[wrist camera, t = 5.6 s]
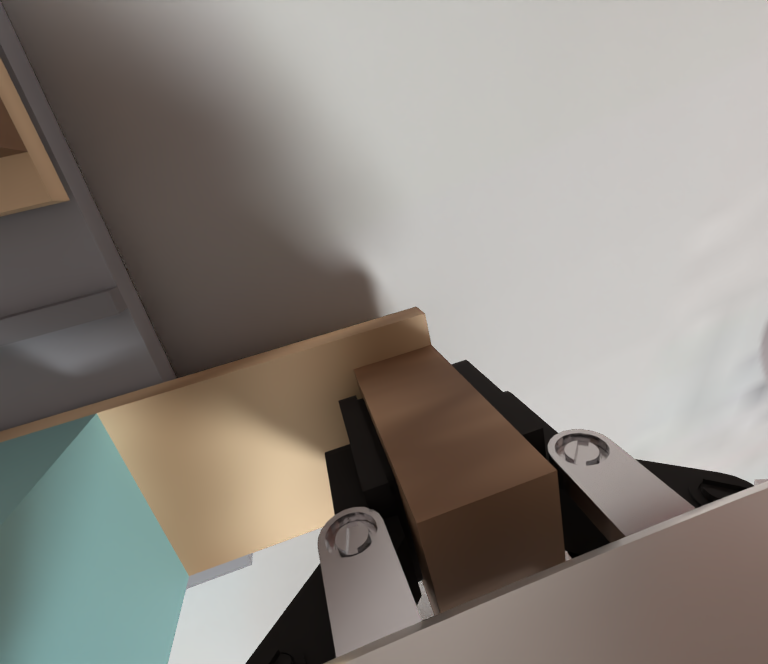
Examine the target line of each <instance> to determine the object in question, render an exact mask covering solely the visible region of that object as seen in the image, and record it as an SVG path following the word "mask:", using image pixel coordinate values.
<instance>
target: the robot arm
mask: <svg viewBox="0 0 768 664" xmlns="http://www.w3.org/2000/svg"><path fill="white" fill-rule="evenodd" d="M451 365H452V366H453V367H454V368H455V369H456V370H457V371H458V372H459V373H460V374H461V375H462V376H463V377H464V378H465V379H466V380H467V381H468V382H469V383H470V384H471V385H472V386H473V387H474V388H475V389H476V390H477V391H478V392H479V393H480V394H481V395H482V396H483V397H484V398H485V399H486V400H487V401H488V402H489V403H490V404H491V405H492V406H493V407H494V408H495V409H496V410H497V411H498V412H499V413H500V414H501V415H502V416H503V417H504V418H505V419H506V420H507V421H508V422H509V423H510V424H511V425H512V426H513V427H514V428H515V429H516V430H517V431H518V432H519V433H520V434H521V435H522V436H523V437H524V438H525V439H526V440H527V441H528V442H529V443H530V444H531V445H532V446H533V447H534V448H535V449H536V450H537V451H538V452H539V453H540V454H541V455H542V456H543V457H544V458H545V459H546V460H547V461H548V462H549V463H550V464H551V465H552V466H553V467H554V468H555V469H556V470H557V474H558V485H559V495H560V506H561V516H562V527H563V537H564V548H565V558H566V561H565V562H563V563H561V564H558V565H556V566H553V567H551V568H548V569H546V570H544V571H541V572H539V573H536V574H534V575H531V576H529V577H527V578H524V579H522V580H519V581H517V582H514V583H512V584H510V585H507V586H505V587H502V588H500V589H497V590H495V591H493V592H490V593H488V594H485V595H483V596H481V597H478V598H476V599H473V600H471V601H469V602H466V603H464V604H462V605H459V606H457V607H454V608H452V609H450V610H447V611H445V612H442V613H440V614H438V615H435V616H433V617H430V618H428V619H426V620H423V621H422V619H421V616H420V613H419V611H418V608H417V604H418V602H419V600H420V598H421V596H422V595H421V592H420V588H419V584H418V582H419V581H421V580H423V576H422V572H421V568H420V565H419V561H418V557H417V554H416V550H415V547H414V543H413V539H412V536H411V532H410V528H409V525H408V521H407V518H406V514H405V510H404V507H403V503H402V499H401V496H400V492H399V489H398V486H397V482H396V479H395V477H394V474H393V471H392V469H391V466H390V464H389V461H388V459H387V456H386V454H385V451H384V449H383V446H382V444H381V441H380V439H379V436H378V434H377V431H376V429H375V426H374V424H373V421H372V419H371V416H370V414H369V411H368V409H367V406H366V404H365V401H364V399H363V398H361V399H357V397H356V395H355V396H351V397H348V398H345V399H342V400H339V401H338V402H339V406H340V409H341V413H342V417H343V420H344V424H345V427H346V431H347V435H348V438H349V442H350V444H348V445H345V446H342V447H339V448H336V449H333V450H330V451H327V452H325V460H326V466H327V472H328V478H329V484H330V490H331V496H332V502H333V508H334V514H335V515H334V516H333V517H332V518H331V519H330V520H328V521H327V523H326V524H325V525H324V527H323V528H322V529H321V532H320V534H319V537H318V552H319V558H320V564H319V565H318V567H317V568H316V569H315V571H314V572H313V574H312V575H311V576H310V578H309V579H308V580H307V582H306V583H305V584H304V586H303V587H302V588H301V590H300V591H299V592H298V594H297V595H296V596H295V598H294V599H293V600H292V602H291V603H290V604H289V606H288V607H287V609H286V610H285V611H284V613H283V614H282V615H281V617H280V618H279V619H278V621H277V622H276V623H275V625H274V626H273V627H272V629H271V630H270V631H269V633H268V634H267V635H266V637H265V638H264V639H263V641H262V642H261V644H260V645H259V646H258V648H257V649H256V650H255V652H254V653H253V654H252V656H251V657H250V658H249V660H248V661H247V662H246V664H768V479H759V480H755V481H754V485H752V484H751V483H749V482H747V481H745V480H743V479H740V478H738V477H735V476H732V475H728V474H723V473H719V472H713V471H706V470H700V469H694V468H687V467H681V466H675V465H669V464H662V463H656V462H650V461H643V460H637V459H634V458H633V457H632V456H630V455H629V454H628V453H627V452H625V451H624V450H623V449H622V448H620V447H619V446H618V445H617V444H616V443H614V442H613V441H612V440H611V439H609V438H607V437H606V436H604V435H603V434H600V433H597V432H594V431H590V430H584V429H571V430H567V431H562V432H560V433H557V432H556V431H555V430H554V429H553V428H552V427H550V426H549V425H548V424H547V423H546V422H545V421H543V420H542V419H541V418H540V417H539V416H538V415H536V414H535V413H534V412H533V411H532V410H531V409H529V408H528V407H527V406H526V405H525V404H524V403H522V402H521V401H520V400H519V399H518V398H517V397H515V396H514V395H513V394H512V393H510V392H509V391H505V392H502V391H501V390H500V389H499V388H498V387H497V386H496V385H494V384H493V383H492V382H491V381H490V380H489V379H488V378H487V377H485V376H484V375H483V374H482V373H481V372H480V371H479V370H478V369H476V368H475V367H474V366H473V365H472V364H471V363H470V362H468V361H467V360H464V361H461V362H458V363H455V364H451Z"/></svg>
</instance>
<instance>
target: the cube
mask: <svg viewBox="0 0 768 664" xmlns="http://www.w3.org/2000/svg"><path fill="white" fill-rule="evenodd" d="M188 578H189V575H188V574H187V572H186V570H185V568H184V566H183V565H182V563H181V561H180V559H179V558H178V556H177V554H176V552H175V551H174V549H173V547H172V545H171V544H170V542H169V540H168V538H167V536H166V535H165V533H164V531H163V529H162V528H161V526H160V524H159V522H158V521H157V519H156V517H155V515H154V514H153V512H152V510H151V508H150V506H149V505H148V503H147V501H146V499H145V498H144V496H143V494H142V492H141V491H140V489H139V487H138V485H137V484H136V482H135V480H134V478H133V476H132V475H131V473H130V471H129V469H128V468H127V466H126V464H125V462H124V461H123V459H122V457H121V455H120V454H119V452H118V450H117V448H116V446H115V445H114V443H113V441H112V439H111V438H110V436H109V434H108V432H107V431H106V429H105V427H104V425H103V424H102V422H101V420H100V418H99V416H98V415H97V413H96V414H92V415H89V416H86V417H82V418H79V419H76V420H73V421H69V422H66V423H63V424H59V425H56V426H53V427H50V428H46V429H43V430H40V431H36V432H33V433H30V434H26V435H23V436H20V437H17V438H13V439H10V440H7V441H3V442H0V664H168V660H169V656H170V652H171V648H172V644H173V640H174V636H175V631H176V627H177V623H178V619H179V615H180V611H181V607H182V603H183V599H184V595H185V591H186V587H187V583H188Z"/></svg>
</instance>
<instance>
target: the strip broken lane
mask: <svg viewBox="0 0 768 664" xmlns="http://www.w3.org/2000/svg"><path fill="white" fill-rule="evenodd" d="M65 201H70V199H69V197H68V195H67V193H66V191H65V189H64V187H63V185H62V183H61V181H60V179H59V177H58V175H57V173H56V171H55V168H54V166H53V164H52V162H51V160H50V158H49V156H48V154H47V152H46V150H45V148H44V146H43V144H42V142H41V140H40V138H39V136H38V134H37V131H36V129H35V127H34V125H33V123H32V121H31V119H30V117H29V115H28V113H27V111H26V109H25V107H24V105H23V103H22V101H21V99H20V97H19V95H18V92H17V90H16V88H15V86H14V84H13V82H12V80H11V78H10V76H9V74H8V72H7V70H6V68H5V66H4V64H3V62H2V60H1V58H0V217H1V216H5V215H10V214H14V213H18V212H22V211H27V210H31V209H35V208H40V207H44V206H48V205H53V204H57V203H61V202H65Z"/></svg>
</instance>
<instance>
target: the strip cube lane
mask: <svg viewBox="0 0 768 664" xmlns="http://www.w3.org/2000/svg"><path fill="white" fill-rule="evenodd" d="M355 395H356V397H357V399H361V398H363V399H364V401H365V404H366V406H367V409H368V411H369V414H370V416H371V419H372V421H373V424H374V426H375V429H376V431H377V434H378V436H379V439H380V441H381V444H382V446H383V449H384V451H385V454H386V456H387V459H388V461H389V464H390V466H391V469H392V471H393V474H394V477H395V479H396V482H397V486H398V489H399V492H400V496H401V499H402V503H403V507H404V510H405V514H406V518H407V521H408V525H409V528H410V532H411V536H412V539H413V543H414V547H415V550H416V554H417V557H418V561H419V565H420V568H421V572H422V576H423V580H422V582H423V585H424V588H425V590H426V593H427V596H428V599H429V601H430V604H431V607H432V610H433V612H434V615H438V614H440V613H442V612H445V611H447V610H450V609H452V608H454V607H457V606H459V605H462V604H464V603H466V602H469V601H471V600H473V599H476V598H478V597H481V596H483V595H485V594H488V593H490V592H493V591H495V590H497V589H500V588H502V587H505V586H507V585H510V584H512V583H514V582H517V581H519V580H522V579H524V578H527V577H529V576H531V575H534V574H536V573H539V572H541V571H544V570H546V569H548V568H551V567H553V566H556V565H558V564H561V563H563V562H565V561H566V558H565V548H564V537H563V527H562V516H561V506H560V495H559V485H558V474H557V470H556V469H555V468H554V467H553V466H552V465H551V464H550V463H549V462H548V461H547V460H546V459H545V458H544V457H543V456H542V455H541V454H540V453H539V452H538V451H537V450H536V449H535V448H534V447H533V446H532V445H531V444H530V443H529V442H528V441H527V440H526V439H525V438H524V437H523V436H522V435H521V434H520V433H519V432H518V431H517V430H516V429H515V428H514V427H513V426H512V425H511V424H510V423H509V422H508V421H507V420H506V419H505V418H504V417H503V416H502V415H501V414H500V413H499V412H498V411H497V410H496V409H495V408H494V407H493V406H492V405H491V404H490V403H489V402H488V401H487V400H486V399H485V398H484V397H483V396H482V395H481V394H480V393H479V392H478V391H477V390H476V389H475V388H474V387H473V386H472V385H471V384H470V383H469V382H468V381H467V380H466V379H465V378H464V377H463V376H462V375H461V374H460V373H459V372H458V371H457V370H456V369H455V368H454V367H453V366H452V365H451V364H450V363H449V362H448V361H447V360H446V359H445V358H444V357H443V356H442V355H441V354H440V353H439V352H438V351H437V350H436V349H435V348H434V347H433V346H432V345H431V341H430V336H429V331H428V327H427V322H426V317H425V313H424V312H422V311H421V310H420V309H419V308H417V307H413V308H410V309H407V310H403V311H400V312H397V313H393V314H390V315H387V316H383V317H380V318H377V319H373V320H370V321H367V322H363V323H360V324H357V325H353V326H350V327H347V328H343V329H340V330H337V331H333V332H330V333H327V334H323V335H320V336H317V337H313V338H310V339H307V340H303V341H300V342H297V343H293V344H290V345H287V346H283V347H280V348H277V349H273V350H270V351H267V352H263V353H260V354H257V355H253V356H250V357H247V358H243V359H240V360H237V361H233V362H230V363H227V364H223V365H220V366H217V367H214V368H210V369H207V370H204V371H200V372H197V373H194V374H190V375H187V376H184V377H180V378H177V379H174V380H170V381H167V382H164V383H160V384H157V385H154V386H150V387H147V388H144V389H140V390H137V391H134V392H130V393H127V394H124V395H120V396H117V397H114V398H110V399H107V400H104V401H100V402H97V403H94V404H90V405H87V406H84V407H80V408H77V409H74V410H70V411H67V412H64V413H60V414H57V415H54V416H50V417H47V418H44V419H40V420H37V421H34V422H30V423H27V424H24V425H20V426H17V427H14V428H10V429H7V430H4V431H0V442H3V441H7V440H10V439H13V438H17V437H20V436H23V435H26V434H30V433H33V432H36V431H40V430H43V429H46V428H50V427H53V426H56V425H59V424H63V423H66V422H69V421H73V420H76V419H79V418H82V417H86V416H89V415H92V414H96V413H97V415H98V416H99V418H100V420H101V422H102V424H103V425H104V427H105V429H106V431H107V432H108V434H109V436H110V438H111V439H112V441H113V443H114V445H115V446H116V448H117V450H118V452H119V454H120V455H121V457H122V459H123V461H124V462H125V464H126V466H127V468H128V469H129V471H130V473H131V475H132V476H133V478H134V480H135V482H136V484H137V485H138V487H139V489H140V491H141V492H142V494H143V496H144V498H145V499H146V501H147V503H148V505H149V506H150V508H151V510H152V512H153V514H154V515H155V517H156V519H157V521H158V522H159V524H160V526H161V528H162V529H163V531H164V533H165V535H166V536H167V538H168V540H169V542H170V544H171V545H172V547H173V549H174V551H175V552H176V554H177V556H178V558H179V559H180V561H181V563H182V565H183V566H184V568H185V570H186V572H187V574H188V575H189V576H191V575H194V574H196V573H199V572H202V571H205V570H207V569H210V568H213V567H215V566H218V565H221V564H224V563H226V562H229V561H232V560H235V559H237V558H240V557H243V556H245V555H248V554H251V553H254V552H256V551H259V550H262V549H264V548H267V547H270V546H273V545H275V544H278V543H281V542H283V541H286V540H289V539H292V538H294V537H297V536H300V535H303V534H305V533H308V532H311V531H313V530H316V529H319V528H322V527H324V525H325V524H326V523H327V521H328V520H330V519H331V518H332V517H333V516H334V515H335V514H334V508H333V502H332V496H331V490H330V484H329V478H328V472H327V466H326V460H325V452H327V451H330V450H333V449H336V448H339V447H342V446H345V445H348V444H350V442H349V438H348V435H347V431H346V427H345V424H344V420H343V417H342V413H341V409H340V406H339V402H338V401H339V400H342V399H345V398H348V397H351V396H355Z"/></svg>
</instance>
